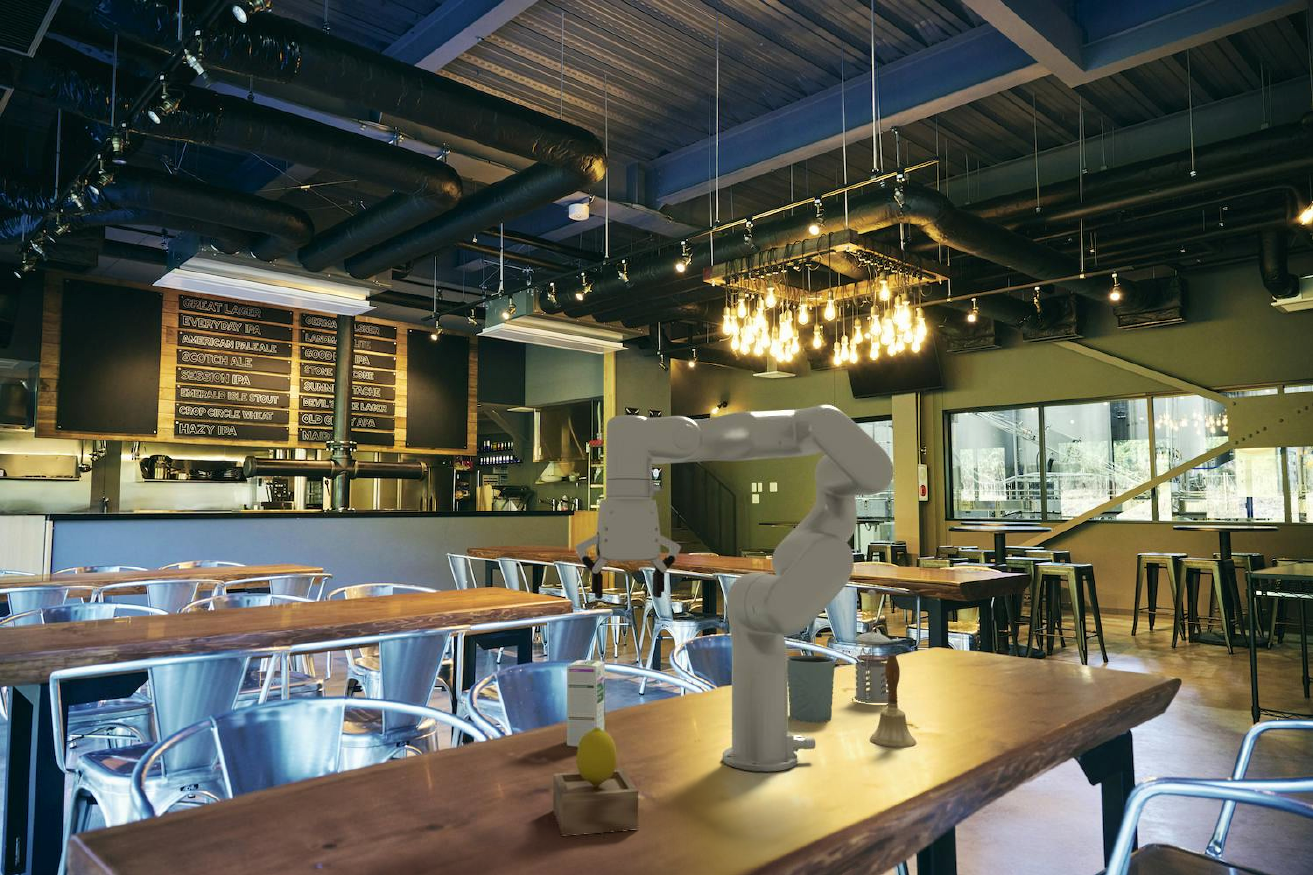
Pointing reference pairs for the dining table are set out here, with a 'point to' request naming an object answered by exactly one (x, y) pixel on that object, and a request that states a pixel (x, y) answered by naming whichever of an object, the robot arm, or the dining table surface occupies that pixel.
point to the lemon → (596, 756)
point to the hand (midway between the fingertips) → (628, 597)
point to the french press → (871, 668)
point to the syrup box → (585, 699)
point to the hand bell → (892, 713)
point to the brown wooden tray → (595, 804)
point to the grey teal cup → (810, 687)
